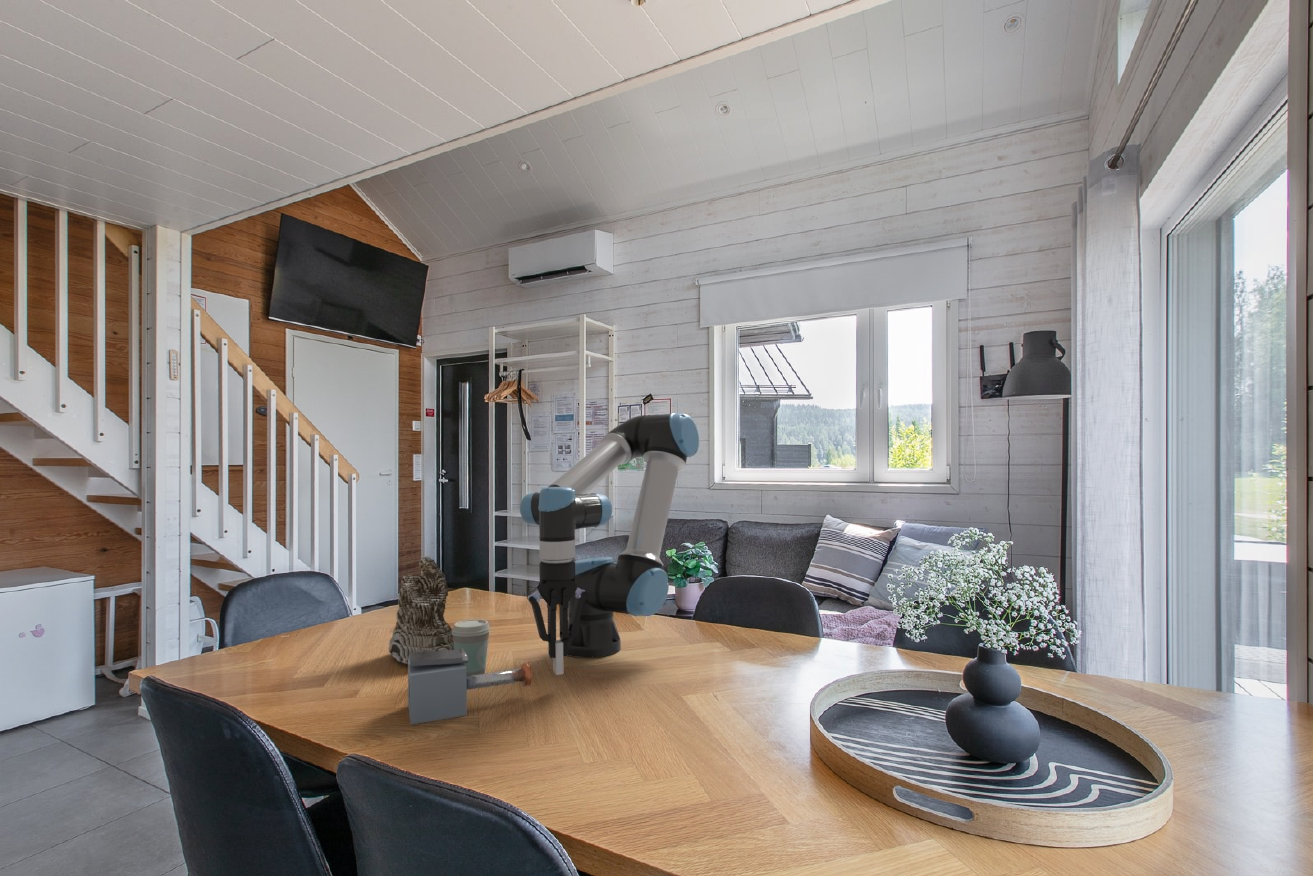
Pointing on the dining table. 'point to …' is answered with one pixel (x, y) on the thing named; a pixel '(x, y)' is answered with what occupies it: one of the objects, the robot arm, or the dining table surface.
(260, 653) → the dining table surface
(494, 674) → the lynch pin
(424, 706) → the block
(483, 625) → the coffee cup
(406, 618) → the sculpture
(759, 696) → the dining table surface
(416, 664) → the keeper plate
